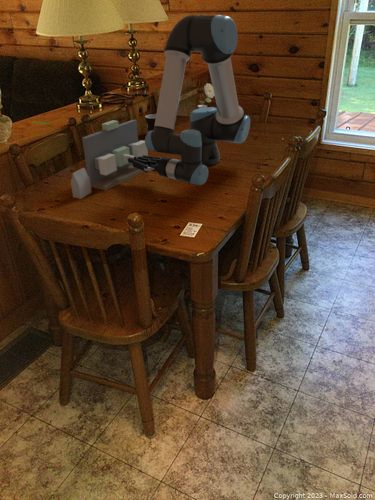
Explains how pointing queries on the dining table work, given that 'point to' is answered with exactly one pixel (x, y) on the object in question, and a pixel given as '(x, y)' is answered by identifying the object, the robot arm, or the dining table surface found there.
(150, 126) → the coffee mug
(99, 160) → the key
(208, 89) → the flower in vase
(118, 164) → the key middle
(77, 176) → the grey upright block
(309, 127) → the dining table surface
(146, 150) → the key
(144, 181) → the dining table surface
